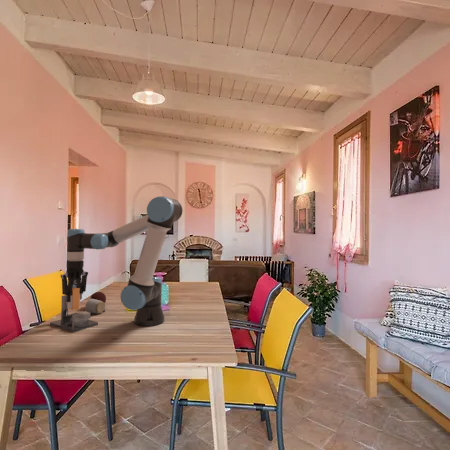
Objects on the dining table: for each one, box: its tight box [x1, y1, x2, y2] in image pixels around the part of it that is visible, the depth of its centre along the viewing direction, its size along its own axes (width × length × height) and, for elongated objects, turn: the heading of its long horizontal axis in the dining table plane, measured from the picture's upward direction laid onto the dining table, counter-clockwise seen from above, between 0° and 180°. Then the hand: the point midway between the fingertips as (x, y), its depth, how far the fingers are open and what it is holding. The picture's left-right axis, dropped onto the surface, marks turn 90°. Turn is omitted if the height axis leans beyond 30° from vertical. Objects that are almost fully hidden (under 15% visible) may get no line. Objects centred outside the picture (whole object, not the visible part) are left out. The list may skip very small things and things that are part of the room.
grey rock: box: [72, 310, 92, 327], centre depth 146 cm, size 6×8×6 cm
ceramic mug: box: [84, 298, 107, 315], centre depth 171 cm, size 11×8×8 cm
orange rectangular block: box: [70, 286, 80, 311], centre depth 150 cm, size 3×3×10 cm
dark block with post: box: [49, 294, 99, 333], centre depth 149 cm, size 19×13×13 cm
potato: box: [89, 291, 107, 304], centre depth 182 cm, size 9×12×9 cm
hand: (73, 307), depth 150 cm, fingers closed on orange rectangular block, 3 cm apart
